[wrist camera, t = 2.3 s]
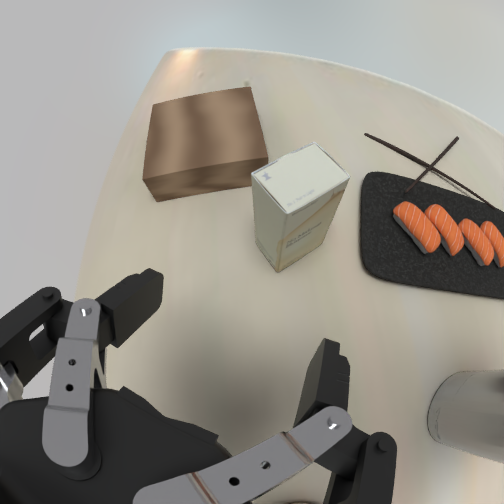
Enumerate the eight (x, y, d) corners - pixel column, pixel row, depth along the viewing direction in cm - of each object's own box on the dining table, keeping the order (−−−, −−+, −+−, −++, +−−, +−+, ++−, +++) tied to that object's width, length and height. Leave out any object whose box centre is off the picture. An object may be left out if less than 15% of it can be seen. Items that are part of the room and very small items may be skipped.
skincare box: (277, 274, 29) (284, 219, 17) (254, 241, 30) (247, 173, 19) (323, 242, 30) (353, 177, 18) (299, 213, 31) (315, 139, 20)
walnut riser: (252, 112, 38) (250, 86, 33) (268, 183, 33) (268, 157, 28) (162, 128, 38) (153, 104, 33) (156, 202, 33) (142, 179, 28)
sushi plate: (354, 280, 29) (365, 269, 25) (353, 105, 39) (357, 88, 35) (516, 304, 25) (532, 297, 22) (484, 150, 36) (493, 139, 32)
